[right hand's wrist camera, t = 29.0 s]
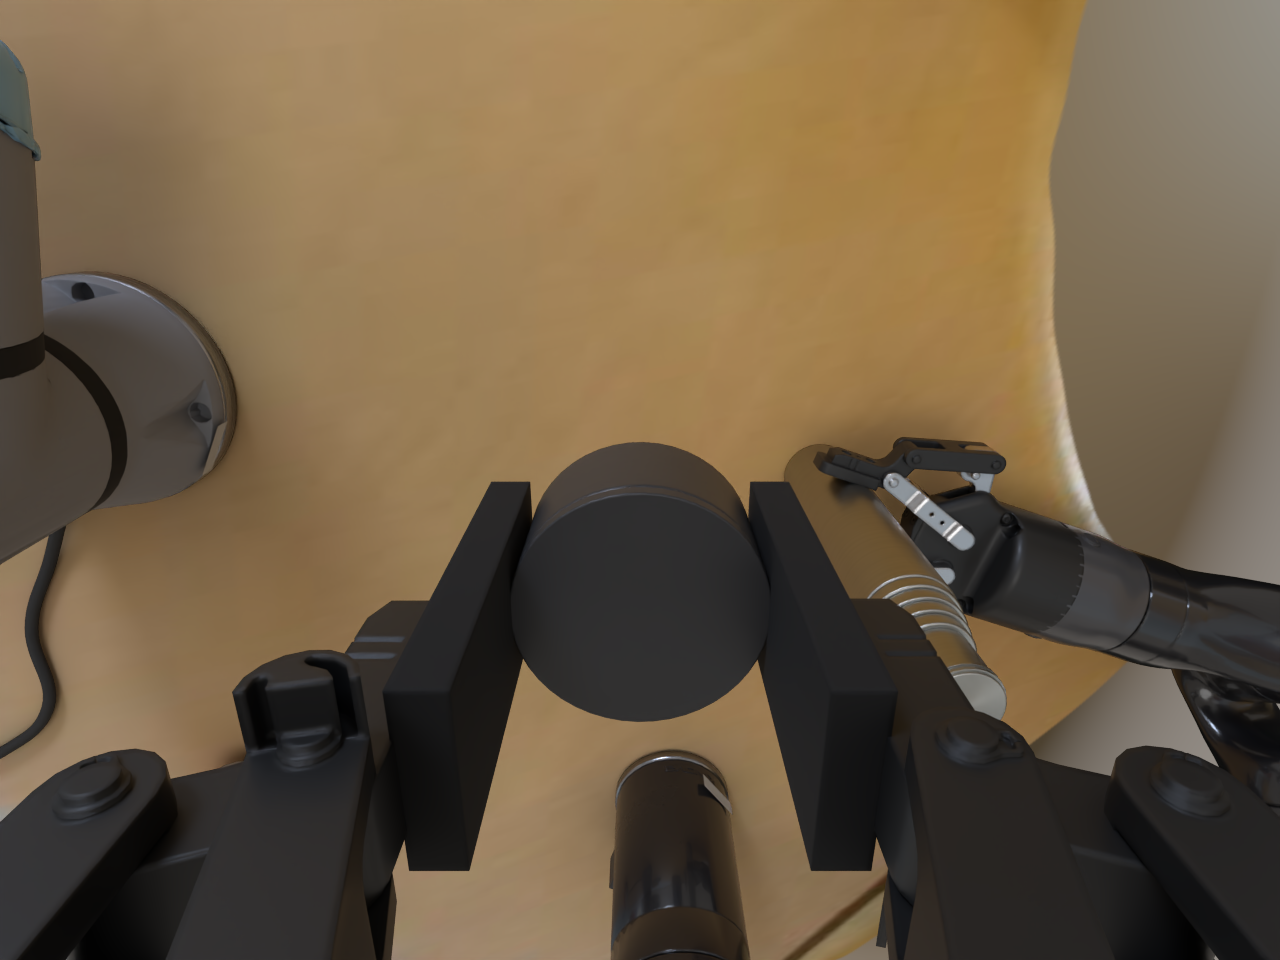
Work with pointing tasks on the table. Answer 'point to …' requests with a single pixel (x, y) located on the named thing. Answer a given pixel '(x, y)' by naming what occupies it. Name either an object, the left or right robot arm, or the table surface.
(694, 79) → the table surface
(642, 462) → the cap
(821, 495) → the bottle
